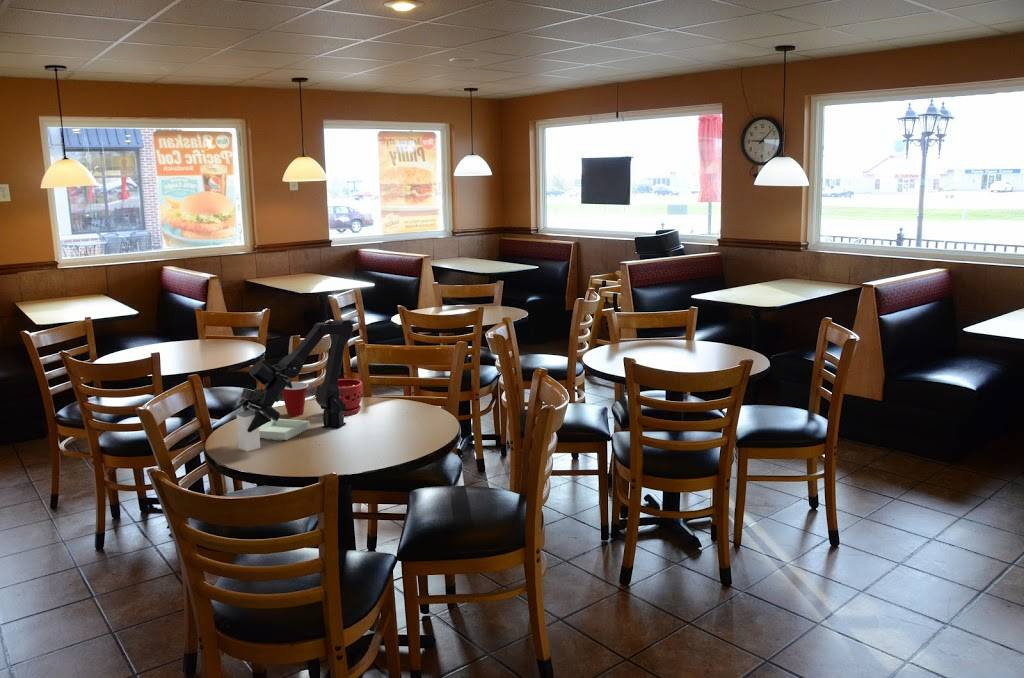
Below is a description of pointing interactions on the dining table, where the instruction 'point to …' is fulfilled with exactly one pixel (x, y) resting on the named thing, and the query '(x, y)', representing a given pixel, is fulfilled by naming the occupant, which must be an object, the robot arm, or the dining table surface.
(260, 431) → the tray
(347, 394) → the plant pot
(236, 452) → the dining table surface
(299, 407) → the plastic cup
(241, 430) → the white rectangular box
